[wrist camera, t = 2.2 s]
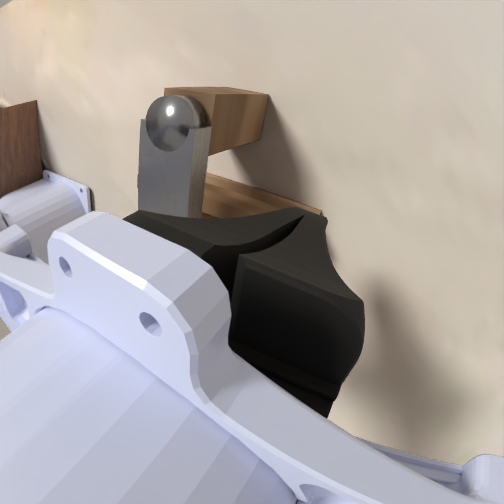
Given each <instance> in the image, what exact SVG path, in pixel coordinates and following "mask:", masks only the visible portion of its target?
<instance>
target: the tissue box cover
mask: <svg viewBox="0 0 504 504" xmlns="http://www.w3.org/2000/svg"><path fill="white" fill-rule="evenodd" d="M41 179H43V170H42V162H41V154H40V144H39V133H38V119H37V100H35V101H31V102H26V103H22V104H18V105H14V106H10V107H6V108H3V109H0V199H1V198H2V197H3V196H5V195H6V194H9V193H11V192H13V191H15V190H18V189H20V188H22V187H24V186H27V185H29V184H32V183H34V182H36V181H39V180H41Z"/></svg>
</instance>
